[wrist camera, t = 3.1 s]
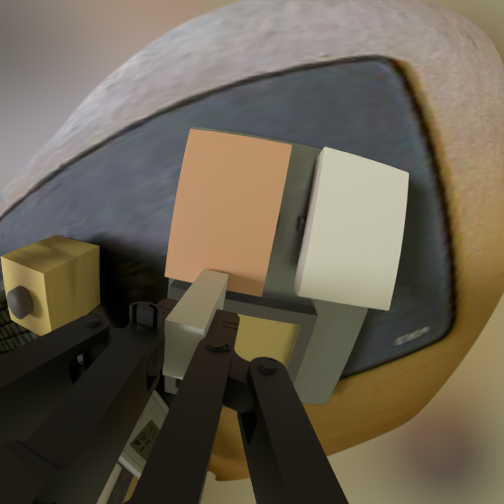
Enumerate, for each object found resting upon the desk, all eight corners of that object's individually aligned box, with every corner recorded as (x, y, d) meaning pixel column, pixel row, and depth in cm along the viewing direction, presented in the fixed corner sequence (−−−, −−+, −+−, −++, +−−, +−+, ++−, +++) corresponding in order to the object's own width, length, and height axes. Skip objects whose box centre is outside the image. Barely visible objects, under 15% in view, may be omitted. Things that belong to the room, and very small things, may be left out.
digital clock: (202, 447, 30) (189, 500, 21) (151, 441, 30) (132, 489, 21) (170, 373, 26) (140, 436, 17) (111, 370, 27) (74, 421, 18)
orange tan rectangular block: (176, 267, 19) (164, 276, 16) (199, 138, 17) (190, 128, 15) (261, 285, 19) (261, 297, 16) (288, 152, 17) (292, 145, 15)
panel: (170, 368, 26) (159, 390, 22) (198, 130, 20) (185, 122, 16) (321, 394, 26) (326, 418, 22) (393, 174, 20) (413, 174, 16)
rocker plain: (292, 290, 18) (298, 295, 16) (316, 158, 18) (324, 146, 15) (373, 303, 18) (388, 310, 16) (392, 180, 18) (408, 172, 15)
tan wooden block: (58, 288, 24) (3, 325, 16) (55, 235, 23) (-9, 260, 14) (100, 303, 24) (45, 350, 16) (99, 246, 23) (33, 279, 14)
